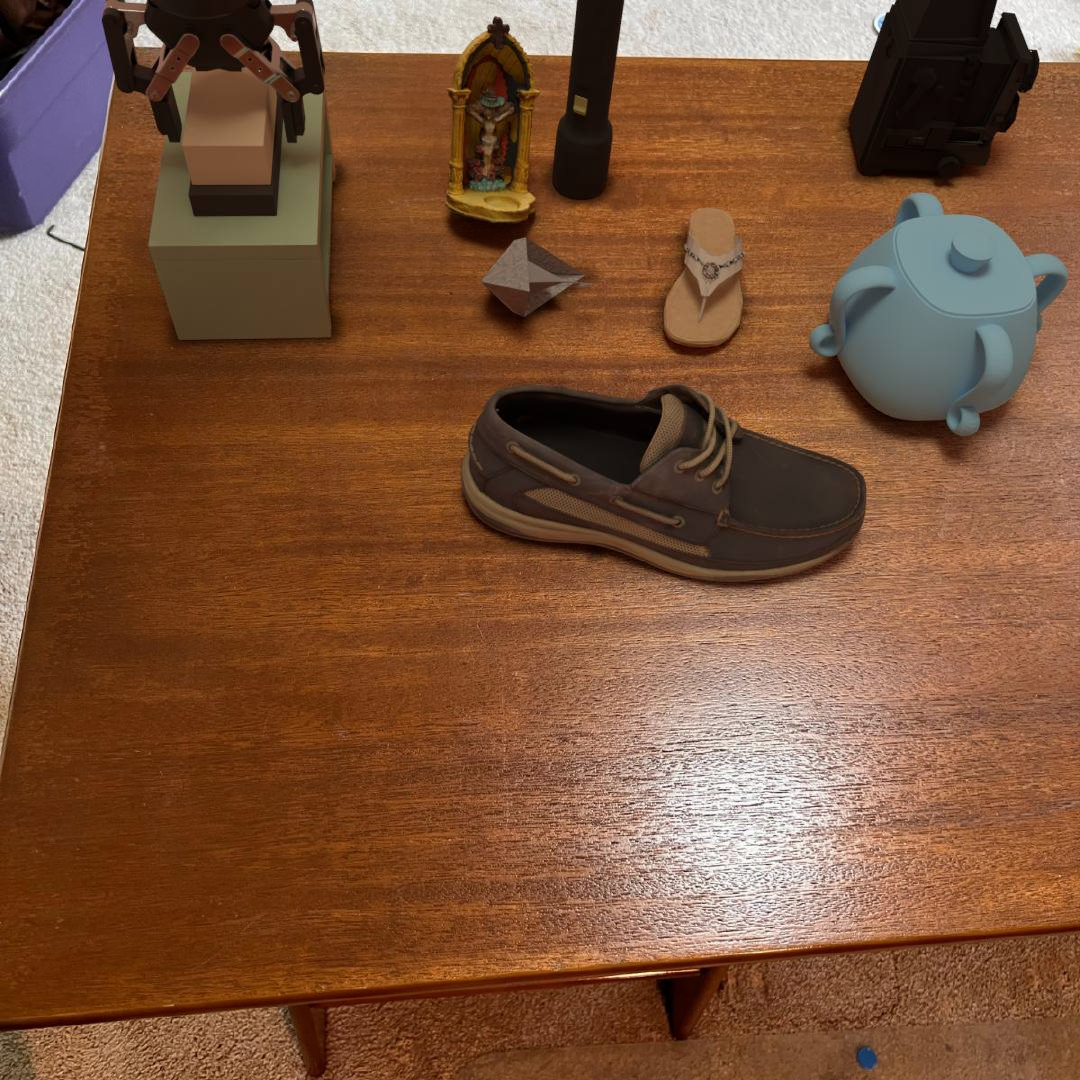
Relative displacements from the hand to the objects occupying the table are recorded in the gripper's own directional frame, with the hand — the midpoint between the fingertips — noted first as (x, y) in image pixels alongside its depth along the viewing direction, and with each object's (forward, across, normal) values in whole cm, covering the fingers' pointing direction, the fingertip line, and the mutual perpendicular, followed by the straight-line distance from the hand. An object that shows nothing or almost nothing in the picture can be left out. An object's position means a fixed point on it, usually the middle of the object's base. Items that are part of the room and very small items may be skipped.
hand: (235, 136), depth 81 cm
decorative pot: (+12, +54, -13) cm, 56 cm away
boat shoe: (+12, +30, -27) cm, 43 cm away
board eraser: (+2, 0, +1) cm, 3 cm away
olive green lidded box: (+12, 0, +1) cm, 12 cm away
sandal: (+12, +37, -4) cm, 40 cm away
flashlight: (+12, +28, +10) cm, 32 cm away
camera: (+12, +61, +14) cm, 64 cm away
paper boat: (+12, +23, -6) cm, 27 cm away
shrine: (+12, +20, +6) cm, 24 cm away
